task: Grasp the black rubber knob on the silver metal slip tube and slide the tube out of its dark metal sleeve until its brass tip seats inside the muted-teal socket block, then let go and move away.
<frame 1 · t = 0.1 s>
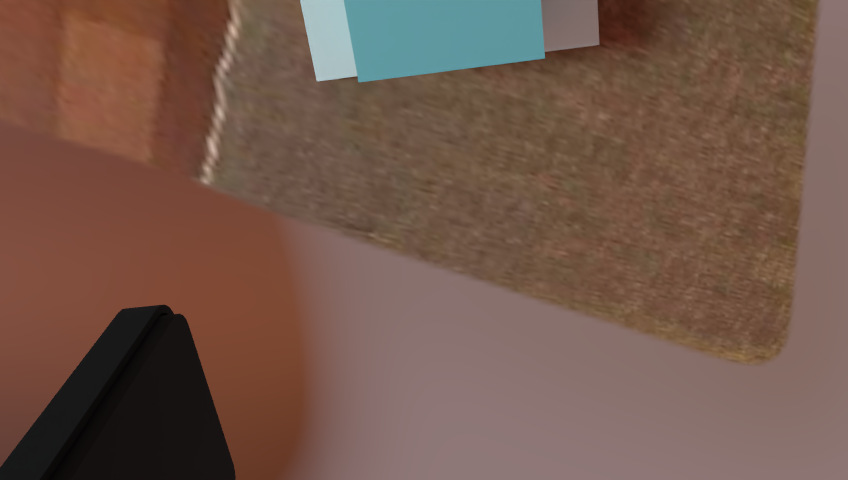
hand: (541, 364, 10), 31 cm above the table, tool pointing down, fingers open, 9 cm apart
socket: (447, 1, 37), resting on base board
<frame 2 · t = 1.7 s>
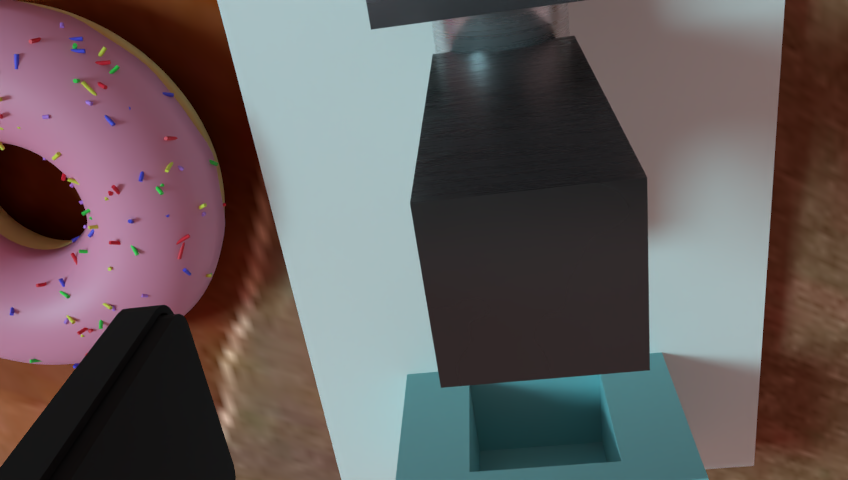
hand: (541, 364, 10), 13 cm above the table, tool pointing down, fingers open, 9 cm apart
socket: (537, 412, 26), resting on base board
base board: (499, 38, 21), on the table
doughnut: (67, 166, 24), on the table
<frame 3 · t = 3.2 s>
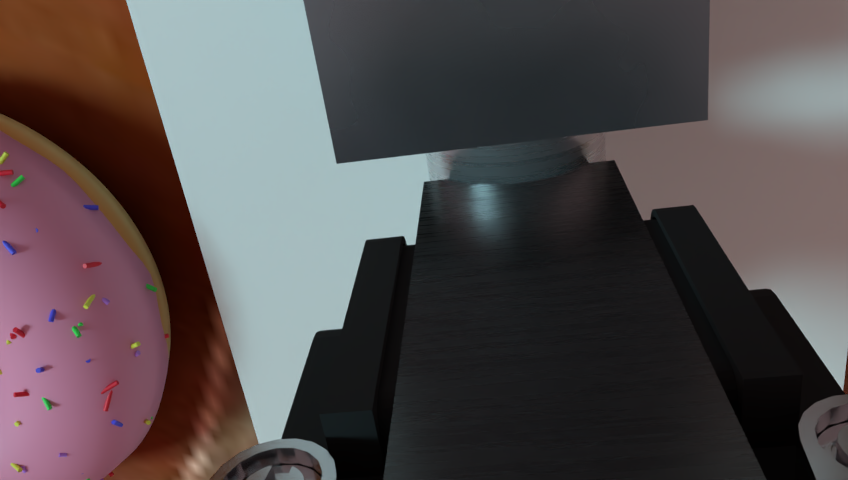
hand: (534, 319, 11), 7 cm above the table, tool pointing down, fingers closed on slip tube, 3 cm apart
base board: (509, 134, 17), on the table
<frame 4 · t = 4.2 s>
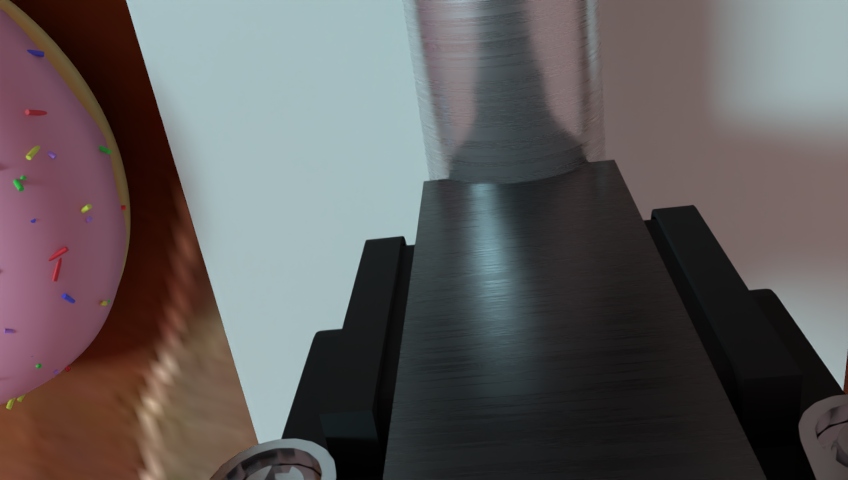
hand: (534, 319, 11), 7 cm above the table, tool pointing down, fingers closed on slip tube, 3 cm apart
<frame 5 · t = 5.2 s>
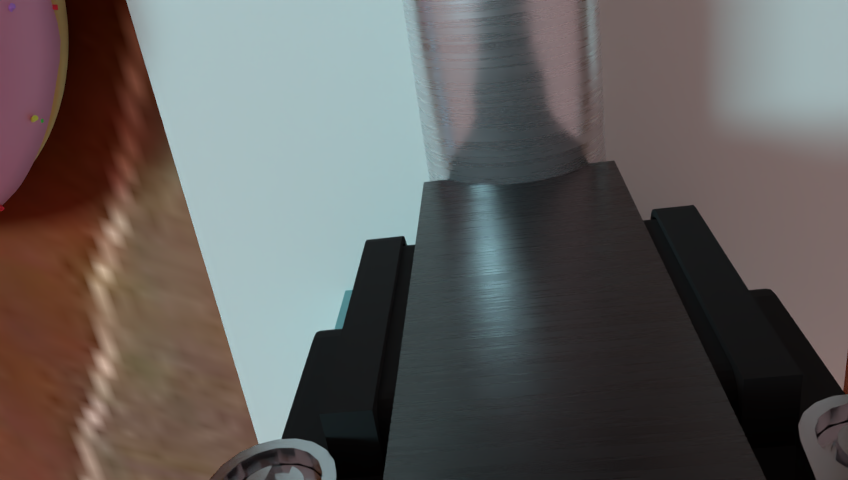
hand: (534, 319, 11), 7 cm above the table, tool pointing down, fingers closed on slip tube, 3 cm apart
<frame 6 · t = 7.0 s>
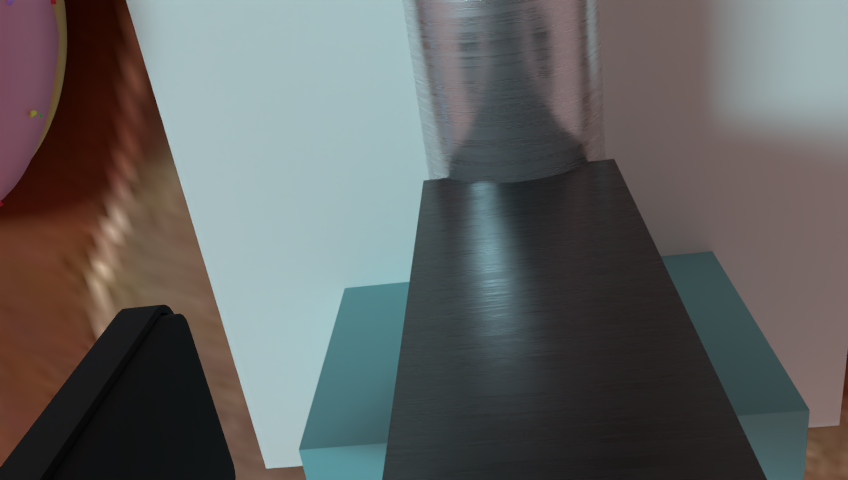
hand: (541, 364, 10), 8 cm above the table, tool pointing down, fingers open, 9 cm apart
socket: (531, 346, 18), resting on base board
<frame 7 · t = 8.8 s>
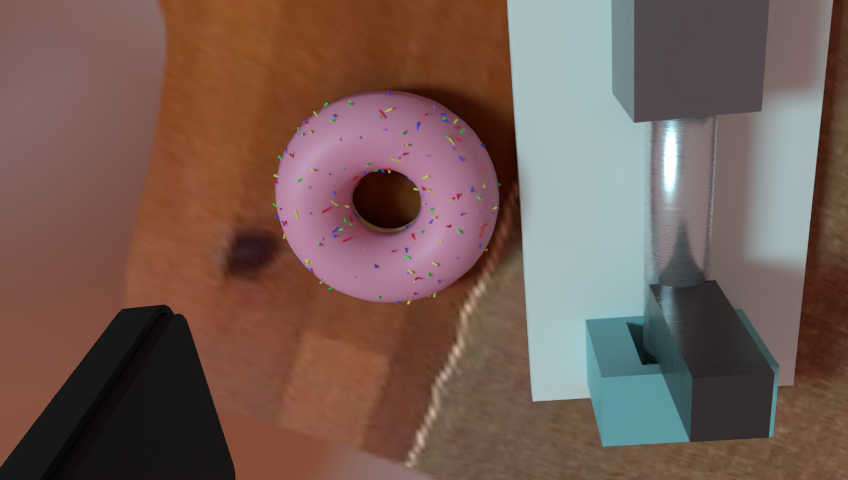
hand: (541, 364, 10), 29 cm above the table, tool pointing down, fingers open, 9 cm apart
slip tube: (699, 235, 32), point 7 cm above the table, slide at 7.3 cm
socket: (662, 346, 42), resting on base board
base board: (660, 122, 38), on the table
doughnut: (390, 184, 40), on the table
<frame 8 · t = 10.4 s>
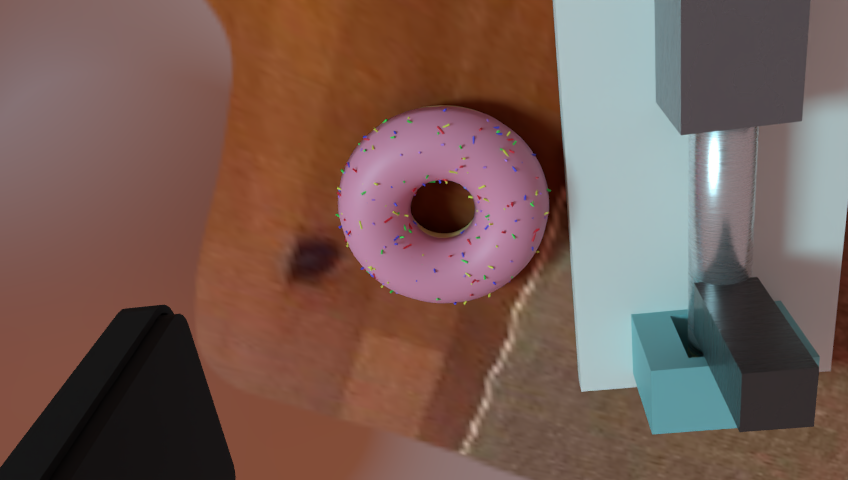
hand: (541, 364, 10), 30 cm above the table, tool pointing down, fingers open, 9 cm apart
sleeve: (710, 0, 36), resting on base board
slip tube: (744, 238, 34), point 7 cm above the table, slide at 7.3 cm
socket: (704, 337, 44), resting on base board
base board: (701, 127, 40), on the table
doughnut: (443, 191, 42), on the table
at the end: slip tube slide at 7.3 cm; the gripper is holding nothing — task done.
